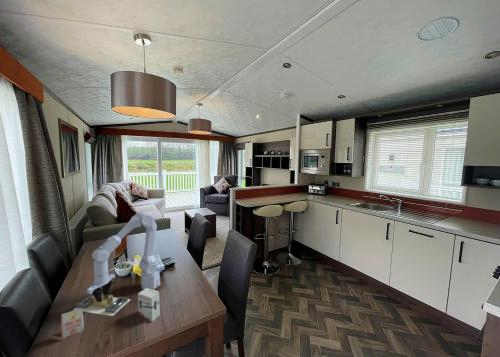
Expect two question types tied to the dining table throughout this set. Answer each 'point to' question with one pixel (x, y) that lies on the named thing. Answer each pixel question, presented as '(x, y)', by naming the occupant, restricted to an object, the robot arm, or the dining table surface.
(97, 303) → the brass block
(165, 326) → the dining table surface
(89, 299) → the chain ends
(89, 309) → the board
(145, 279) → the robot arm
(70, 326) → the tea bag
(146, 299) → the ink box
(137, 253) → the dining table surface
